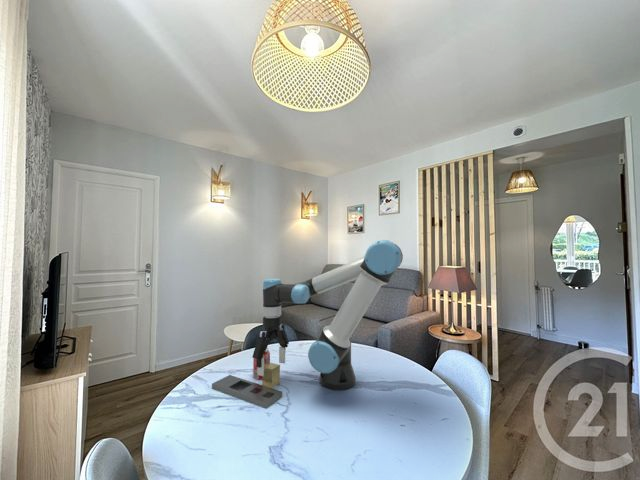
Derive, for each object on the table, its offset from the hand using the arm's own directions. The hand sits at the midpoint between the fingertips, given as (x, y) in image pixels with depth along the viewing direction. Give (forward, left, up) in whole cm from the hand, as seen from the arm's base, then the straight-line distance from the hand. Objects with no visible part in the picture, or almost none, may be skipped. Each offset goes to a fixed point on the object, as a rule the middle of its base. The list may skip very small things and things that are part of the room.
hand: (271, 368), depth 110 cm
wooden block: (0, 0, -7) cm, 7 cm away
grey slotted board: (+4, +10, -7) cm, 13 cm away
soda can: (+9, -4, -7) cm, 12 cm away
